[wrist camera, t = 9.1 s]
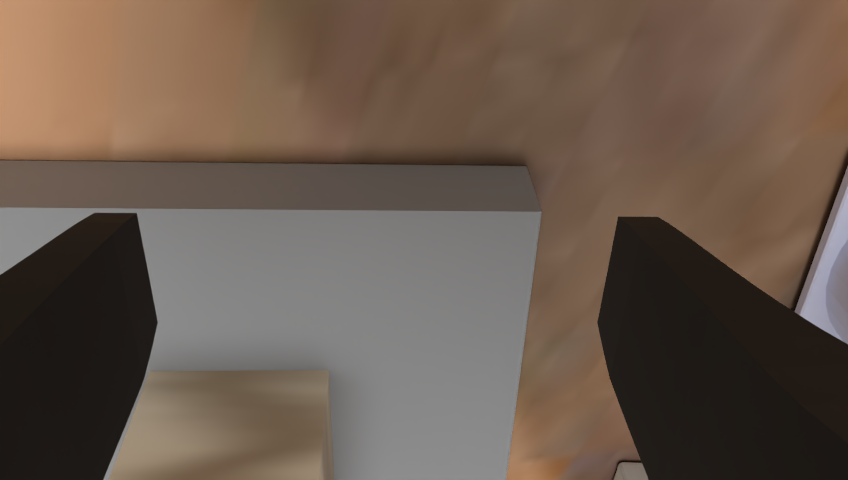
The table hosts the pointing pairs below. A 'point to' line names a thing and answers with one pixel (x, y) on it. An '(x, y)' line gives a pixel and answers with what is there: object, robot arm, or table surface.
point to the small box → (630, 471)
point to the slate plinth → (327, 289)
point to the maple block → (230, 427)
